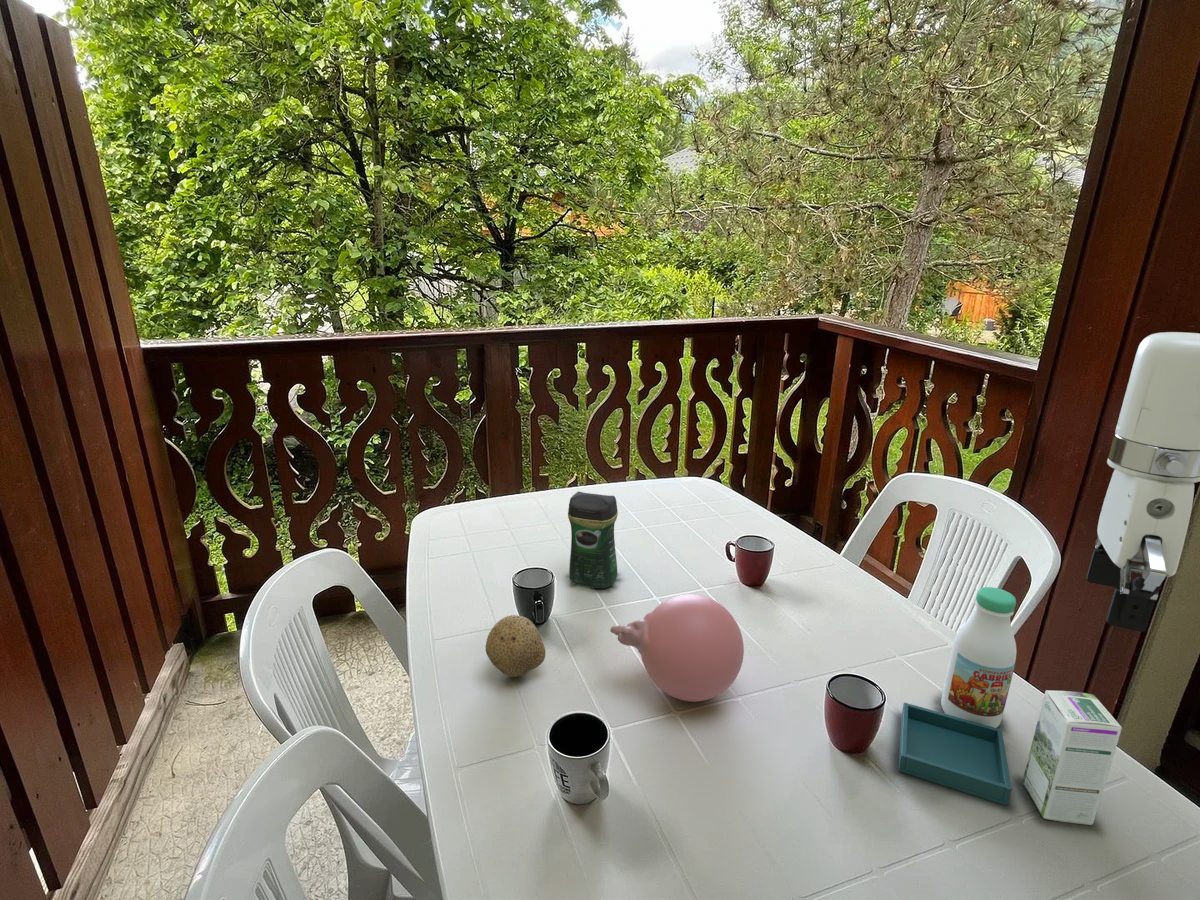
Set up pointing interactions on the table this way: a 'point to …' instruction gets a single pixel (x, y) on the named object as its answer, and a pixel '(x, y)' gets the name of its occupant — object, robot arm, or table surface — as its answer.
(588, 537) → the coffee jar
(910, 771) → the tray
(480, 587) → the table surface
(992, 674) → the milk bottle
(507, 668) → the natural sponge
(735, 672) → the balloon
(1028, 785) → the syrup box
